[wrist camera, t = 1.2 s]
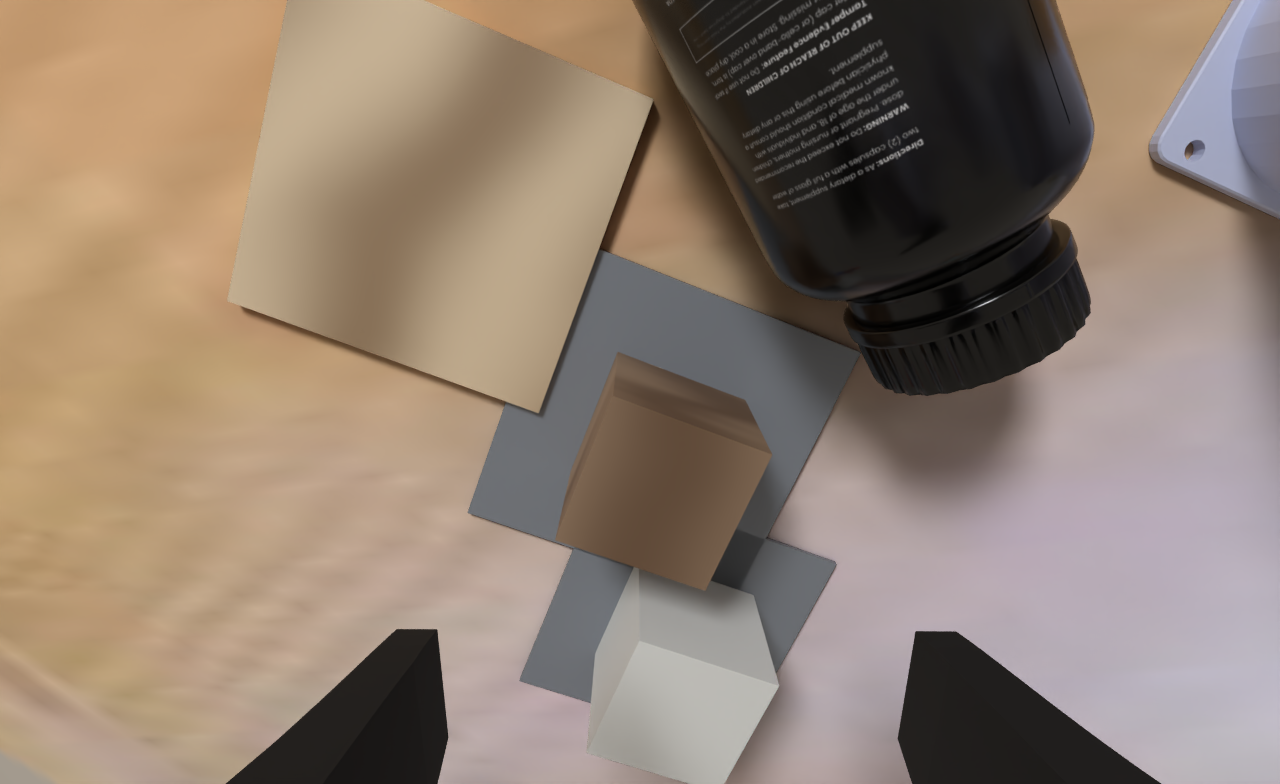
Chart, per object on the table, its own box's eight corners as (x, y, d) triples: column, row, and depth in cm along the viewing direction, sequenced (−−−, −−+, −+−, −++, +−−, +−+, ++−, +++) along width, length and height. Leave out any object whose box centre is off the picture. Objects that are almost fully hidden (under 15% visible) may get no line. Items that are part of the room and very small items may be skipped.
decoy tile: (835, 561, 21) (836, 564, 21) (733, 743, 23) (734, 747, 23) (601, 479, 20) (601, 481, 20) (520, 677, 22) (519, 681, 22)
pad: (653, 100, 17) (653, 98, 16) (540, 408, 19) (538, 413, 19) (306, -49, 16) (297, -54, 15) (235, 298, 18) (227, 301, 18)
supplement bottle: (603, -45, 16) (808, 366, 19) (554, -179, 10) (874, 471, 13) (867, -225, 15) (1041, 252, 18) (1018, -525, 8) (1246, 306, 11)
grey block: (753, 595, 21) (779, 686, 17) (704, 688, 22) (719, 792, 19) (638, 555, 21) (639, 640, 17) (595, 653, 22) (586, 752, 18)
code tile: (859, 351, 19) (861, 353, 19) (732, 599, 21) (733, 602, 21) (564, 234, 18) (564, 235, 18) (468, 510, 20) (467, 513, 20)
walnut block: (745, 400, 19) (772, 454, 15) (692, 513, 20) (705, 591, 16) (617, 351, 19) (613, 395, 15) (570, 471, 20) (555, 540, 16)
